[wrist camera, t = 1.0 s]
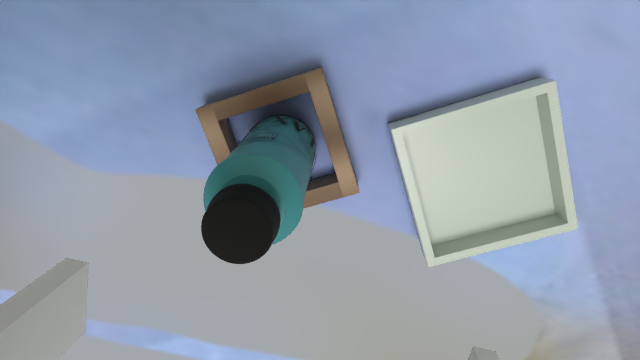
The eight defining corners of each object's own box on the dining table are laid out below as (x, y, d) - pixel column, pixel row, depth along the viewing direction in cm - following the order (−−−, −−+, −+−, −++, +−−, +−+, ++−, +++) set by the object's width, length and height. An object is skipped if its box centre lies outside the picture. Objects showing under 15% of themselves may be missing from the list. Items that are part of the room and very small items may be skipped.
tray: (387, 123, 40) (391, 129, 37) (539, 77, 38) (555, 80, 36) (422, 252, 44) (428, 267, 41) (561, 216, 42) (578, 228, 40)
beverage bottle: (330, 154, 41) (325, 251, 22) (273, 188, 43) (223, 308, 24) (293, 96, 40) (253, 148, 21) (235, 134, 41) (148, 215, 22)
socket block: (205, 104, 40) (195, 109, 37) (322, 66, 39) (321, 68, 36) (248, 213, 44) (242, 225, 41) (357, 182, 42) (359, 192, 39)
